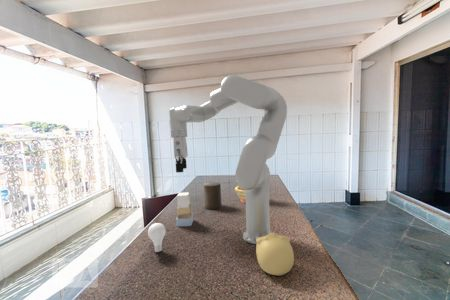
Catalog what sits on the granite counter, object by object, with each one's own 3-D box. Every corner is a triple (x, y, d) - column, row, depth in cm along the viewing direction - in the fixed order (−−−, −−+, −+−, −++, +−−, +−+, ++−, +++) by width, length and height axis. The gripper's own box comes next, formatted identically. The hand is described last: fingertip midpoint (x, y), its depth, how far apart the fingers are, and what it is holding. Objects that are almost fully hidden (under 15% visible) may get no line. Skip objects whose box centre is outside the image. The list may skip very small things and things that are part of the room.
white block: (188, 207, 109) (187, 195, 108) (177, 208, 109) (177, 195, 108) (189, 204, 114) (189, 192, 113) (179, 204, 114) (178, 192, 113)
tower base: (191, 226, 109) (190, 218, 109) (176, 227, 109) (175, 219, 109) (193, 220, 116) (192, 212, 115) (179, 221, 116) (179, 213, 116)
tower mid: (190, 217, 109) (189, 207, 109) (177, 218, 109) (176, 208, 108) (191, 213, 115) (190, 203, 115) (179, 214, 115) (178, 204, 114)
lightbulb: (160, 245, 92) (158, 218, 90) (170, 250, 87) (168, 222, 86) (146, 252, 87) (143, 224, 86) (156, 258, 83) (153, 228, 82)
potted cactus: (259, 196, 149) (258, 158, 147) (261, 204, 134) (259, 161, 131) (235, 197, 151) (234, 159, 148) (234, 204, 135) (232, 162, 133)
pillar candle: (219, 209, 128) (218, 183, 127) (202, 209, 130) (201, 183, 129) (223, 204, 138) (222, 179, 136) (207, 204, 140) (206, 179, 138)
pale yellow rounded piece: (287, 256, 80) (286, 226, 79) (299, 279, 68) (299, 244, 67) (254, 258, 79) (253, 228, 78) (260, 281, 67) (259, 246, 66)
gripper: (184, 134, 99) (186, 173, 101) (189, 133, 117) (191, 166, 118) (166, 135, 99) (169, 174, 101) (174, 134, 116) (177, 167, 118)
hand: (181, 170), depth 110 cm, fingers open, 9 cm apart
